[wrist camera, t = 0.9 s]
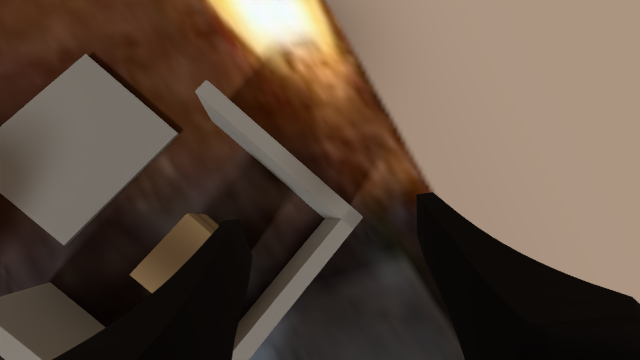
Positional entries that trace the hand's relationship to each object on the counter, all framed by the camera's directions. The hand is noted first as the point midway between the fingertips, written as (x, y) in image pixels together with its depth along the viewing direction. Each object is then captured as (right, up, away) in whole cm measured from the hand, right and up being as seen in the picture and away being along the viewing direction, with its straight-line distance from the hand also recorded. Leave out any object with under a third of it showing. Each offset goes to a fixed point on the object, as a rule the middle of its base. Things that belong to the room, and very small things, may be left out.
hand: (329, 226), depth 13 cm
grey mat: (-18, +4, +11) cm, 22 cm away
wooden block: (-9, -4, +11) cm, 15 cm away
